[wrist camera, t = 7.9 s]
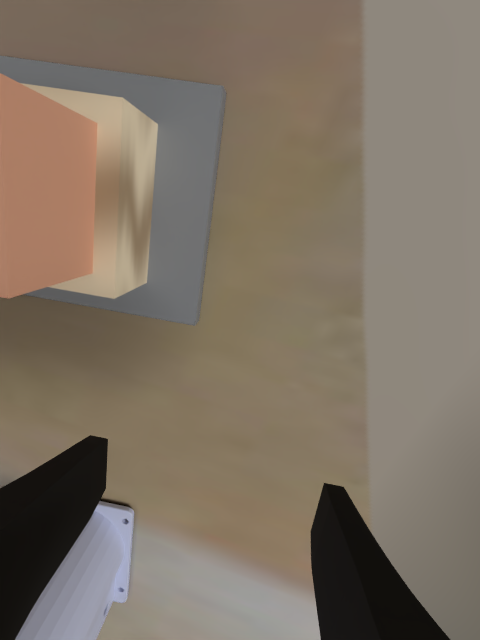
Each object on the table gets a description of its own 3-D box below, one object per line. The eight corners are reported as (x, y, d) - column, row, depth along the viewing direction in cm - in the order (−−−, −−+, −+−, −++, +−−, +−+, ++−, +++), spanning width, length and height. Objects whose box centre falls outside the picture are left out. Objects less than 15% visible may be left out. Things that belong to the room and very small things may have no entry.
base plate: (198, 320, 21) (194, 325, 20) (10, 286, 21) (-2, 290, 21) (226, 93, 17) (223, 86, 16) (-1, 62, 18) (-17, 53, 17)
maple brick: (146, 282, 19) (114, 298, 16) (45, 265, 20) (-11, 276, 16) (157, 124, 17) (122, 97, 13) (42, 107, 17) (-24, 76, 14)
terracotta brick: (92, 273, 15) (8, 298, 11) (8, 257, 16) (-113, 275, 11) (97, 123, 14) (-2, 72, 9) (1, 108, 14) (-146, 50, 9)
